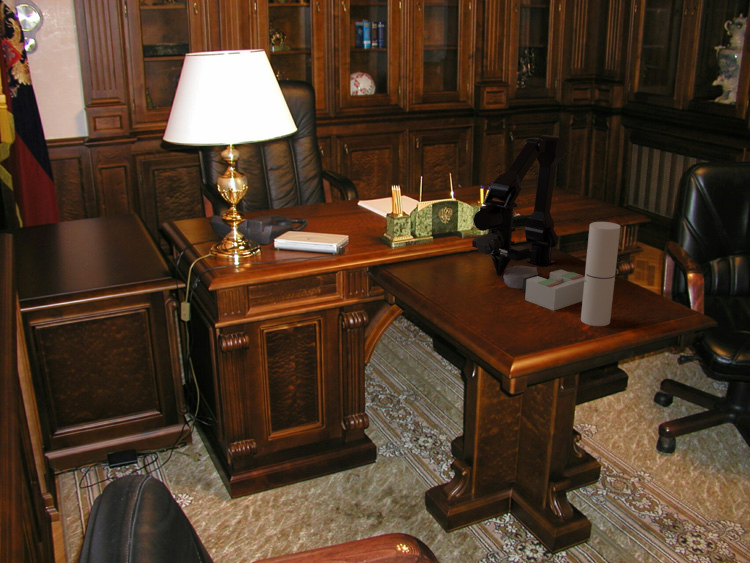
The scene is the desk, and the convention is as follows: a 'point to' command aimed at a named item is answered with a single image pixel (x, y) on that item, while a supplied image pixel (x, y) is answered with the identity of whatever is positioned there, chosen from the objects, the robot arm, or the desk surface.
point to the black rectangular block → (535, 276)
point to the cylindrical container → (600, 273)
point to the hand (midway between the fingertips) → (499, 275)
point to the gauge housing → (555, 290)
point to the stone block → (518, 275)
